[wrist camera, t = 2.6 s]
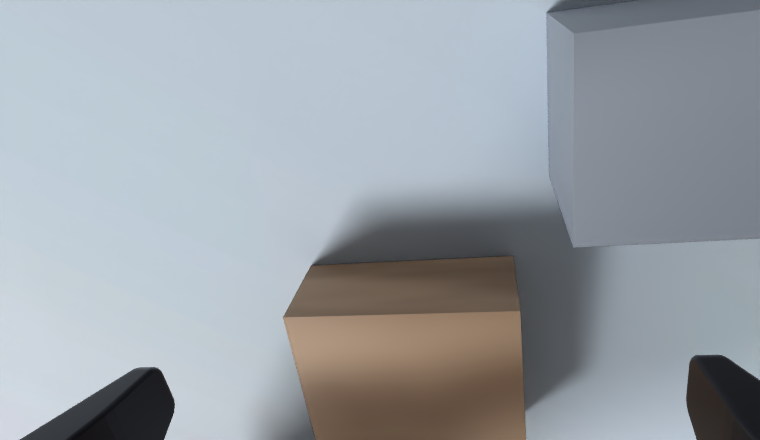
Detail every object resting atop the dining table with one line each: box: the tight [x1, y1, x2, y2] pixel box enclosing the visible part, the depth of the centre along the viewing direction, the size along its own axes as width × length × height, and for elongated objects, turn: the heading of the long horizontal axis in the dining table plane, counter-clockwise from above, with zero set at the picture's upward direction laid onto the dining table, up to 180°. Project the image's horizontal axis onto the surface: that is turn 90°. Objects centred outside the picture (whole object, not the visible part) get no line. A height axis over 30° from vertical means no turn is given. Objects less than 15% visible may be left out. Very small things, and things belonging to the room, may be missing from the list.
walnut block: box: [283, 256, 526, 440], centre depth 24 cm, size 9×9×4 cm
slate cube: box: [546, 0, 760, 248], centre depth 16 cm, size 6×6×6 cm
